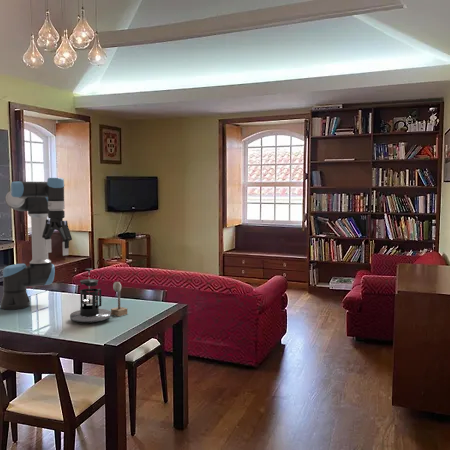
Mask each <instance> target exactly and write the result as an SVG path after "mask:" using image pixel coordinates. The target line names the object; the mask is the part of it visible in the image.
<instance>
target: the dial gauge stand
mask: <svg viewBox="0 0 450 450" xmlns="http://www.w3.org/2000/svg"><path fill="white" fill-rule="evenodd" d="M112 287H113V291H115V292H117V307H113V308H111V309H110V311H111V316H115V317H122V316H125V315H128V308H127V307H122V306H121V291H122V284H121V282H120V281H114V283H113V285H112Z"/></svg>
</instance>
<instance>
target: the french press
mask: <svg viewBox="0 0 450 450" xmlns="http://www.w3.org/2000/svg"><path fill="white" fill-rule="evenodd" d="M84 270H85V271H87V272H88V274H90V273H91V271H92V270H94V269H93V268H91V267H90V268H85V269H84ZM98 282H99V279H94V278H87V279H86V278H85V279H80V281H79V283H80V285H81V286H82V285H85V286H86V287H88V288H83V289H80V290H79V293H80V309H79V310H80V315H81V316H94V315H98V314H99V309H100V307H102V288H90V287H95V286H98ZM90 295H91V296H92V297H91V296H90ZM87 296H88V297H87ZM87 298H88V299H87Z"/></svg>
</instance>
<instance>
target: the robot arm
mask: <svg viewBox="0 0 450 450" xmlns="http://www.w3.org/2000/svg"><path fill="white" fill-rule="evenodd" d="M64 179H65V178H63V177H48V178H47V181H21V180H18V181H12V182H11V183H10V191H8V192H7V193H6V195H5V198H4V201H5V204H6V205H7V206H8V207H9V208H11V209H12V210H13V211H18V212H27V215H28V216H29V217H30V223H31V229H30V230H31V255H32V257H31V260H30V261H29V265H26V263H15V264H11V265H8V266H5V267H4V268H3V272H2V279H3V283H2V284H3V285H2V286H3V295H2V298H1V301H0V309H1V310H6V311H7V310H9V311H11V310H21V309H26V308H28V307H30V306H31V300H30V298H29V295H28V292H27V288H29V287H38V286H49V285H51V284H53V283H54V280H55V275H56V274H55V273H56V272H55V271H56V270H55V264H53V263H52V260H51V259H50V258H49V253H52V252H53V250H52V235H53V234H54V232H55V230H57V231H58V232H59V235H60V236H61V239H62V240H63V241H62V256H63V257H64V256H69V253H70V252H69V251H70V249H69V248H70V241H73V238H72V235H71V232H70V229H69V225H68V223H69V222H68V220H64V218H65V215H66V214H65V208H66V207H65V180H64Z"/></svg>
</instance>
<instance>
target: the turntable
mask: <svg viewBox="0 0 450 450" xmlns="http://www.w3.org/2000/svg"><path fill="white" fill-rule="evenodd" d="M111 317H112V315H111V310H109V309H106V308H99V314H98V315H94V316H81V315H80V309H79V310H76V311H75V310H74V311H73V312H71V313H70V314H69V319H70V320H71V321H74V322H78V323H86V322H92V323H97V322H101V321H106V320H108V319H110V318H111Z"/></svg>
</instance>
